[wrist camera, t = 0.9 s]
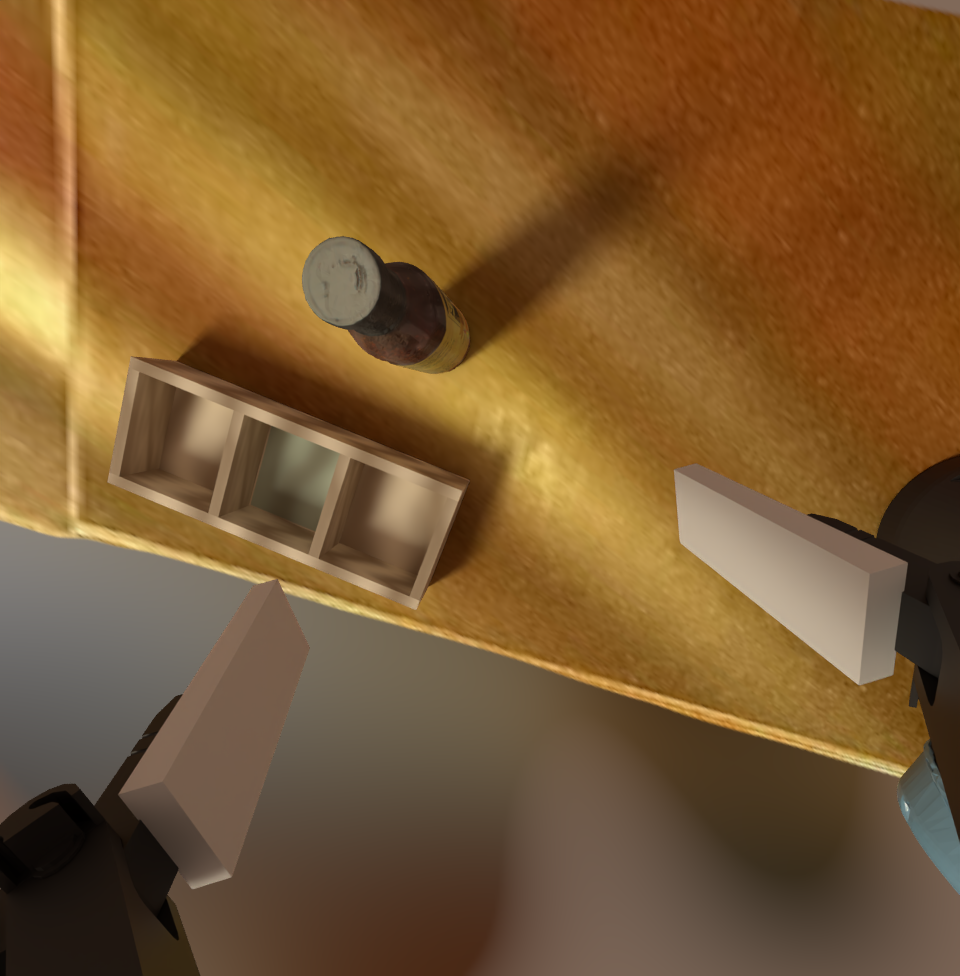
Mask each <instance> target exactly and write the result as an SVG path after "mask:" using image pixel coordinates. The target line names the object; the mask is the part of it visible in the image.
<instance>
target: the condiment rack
mask: <svg viewBox="0 0 960 976" xmlns="http://www.w3.org/2000/svg"><path fill="white" fill-rule="evenodd" d="M469 482H470V480H468V479H466V478H463V477H461V476H459V475H456V474H454V473H451V472H449V471H446V470H444V469H441V468H439V467H436V466H434V465H431V464H429V463H426V462H424V461H422V460H419V459H417V458H414V457H412V456H409V455H407V454H404V453H402V452H399V451H397V450H394V449H392V448H389V447H387V446H384V445H382V444H380V443H377V442H375V441H372V440H370V439H367V438H365V437H362V436H360V435H357V434H355V433H352V432H350V431H347V430H345V429H343V428H340V427H338V426H335V425H333V424H330V423H328V422H325V421H323V420H320V419H318V418H315V417H313V416H310V415H308V414H306V413H303V412H301V411H298V410H296V409H293V408H291V407H288V406H286V405H283V404H281V403H278V402H276V401H273V400H271V399H269V398H266V397H264V396H261V395H259V394H256V393H254V392H251V391H249V390H246V389H244V388H241V387H239V386H236V385H234V384H232V383H229V382H227V381H224V380H222V379H219V378H217V377H214V376H212V375H209V374H207V373H204V372H202V371H199V370H197V369H195V368H192V367H190V366H187V365H185V364H182V363H180V362H177V361H171V360H162V359H152V358H142V357H132V356H131V359H130V364H129V369H128V375H127V380H126V386H125V391H124V396H123V402H122V407H121V412H120V418H119V423H118V429H117V434H116V439H115V445H114V450H113V456H112V461H111V466H110V472H109V477H108V483H111V484H113V485H115V486H118V487H120V488H123V489H125V490H128V491H130V492H132V493H135V494H137V495H140V496H142V497H144V498H147V499H149V500H152V501H154V502H156V503H159V504H161V505H164V506H166V507H169V508H171V509H173V510H176V511H178V512H181V513H183V514H185V515H188V516H190V517H193V518H195V519H197V520H200V521H202V522H205V523H207V524H210V525H212V526H214V527H217V528H219V529H222V530H224V531H226V532H229V533H231V534H234V535H236V536H239V537H241V538H243V539H246V540H248V541H251V542H253V543H255V544H258V545H260V546H263V547H265V548H267V549H270V550H272V551H275V552H277V553H280V554H282V555H284V556H287V557H289V558H292V559H294V560H296V561H299V562H301V563H304V564H306V565H309V566H311V567H313V568H316V569H318V570H321V571H323V572H325V573H328V574H330V575H333V576H335V577H337V578H340V579H342V580H345V581H347V582H350V583H352V584H354V585H357V586H359V587H362V588H364V589H366V590H369V591H371V592H374V593H376V594H379V595H381V596H383V597H386V598H388V599H391V600H393V601H395V602H398V603H400V604H403V605H405V606H407V607H410V608H412V609H415V610H416V609H417V607H418V605H419V603H420V602H421V600H422V598H423V596H424V594H425V592H426V590H427V588H428V586H429V584H430V581H431V579H432V576H433V573H434V571H435V568H436V566H437V563H438V561H439V558H440V556H441V553H442V550H443V548H444V545H445V543H446V540H447V538H448V535H449V533H450V530H451V527H452V525H453V522H454V520H455V517H456V515H457V512H458V510H459V507H460V505H461V502H462V499H463V497H464V494H465V492H466V489H467V487H468V484H469Z"/></svg>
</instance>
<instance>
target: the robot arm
mask: <svg viewBox="0 0 960 976" xmlns="http://www.w3.org/2000/svg"><path fill="white" fill-rule="evenodd" d="M674 475H675V487H676V499H677V512H678V524H679V536H680V543H681V544H682V545H684V546H685V547H686V548H687V549H689V550H690V551H691V552H692V553H694V554H695V555H696V556H697V557H699V558H700V559H701V560H702V561H704V562H705V563H706V564H707V565H709V566H710V567H711V568H712V569H714V570H715V571H716V572H717V573H719V574H720V575H721V576H722V577H724V578H725V579H726V580H728V581H729V582H730V583H731V584H733V585H734V586H735V587H736V588H738V589H739V590H740V591H741V592H743V593H744V594H745V595H746V596H748V597H749V598H750V599H751V600H753V601H754V602H755V603H756V604H758V605H759V606H760V607H761V608H763V609H764V610H765V611H766V612H768V613H769V614H770V615H771V616H773V617H774V618H775V619H776V620H778V621H779V622H780V623H781V624H783V625H784V626H785V627H786V628H788V629H789V630H790V631H791V632H793V633H794V634H795V635H796V636H798V637H799V638H800V639H801V640H803V641H804V642H805V643H806V644H808V645H809V646H810V647H811V648H813V649H814V650H815V651H816V652H818V653H819V654H820V655H821V656H823V657H824V658H825V659H826V660H828V661H829V662H830V663H831V664H833V665H834V666H835V667H836V668H838V669H839V670H840V671H841V672H843V673H844V674H845V675H847V676H848V677H849V678H850V679H852V680H853V681H854V682H855V683H857V684H858V685H862V684H865V683H868V682H872V681H875V680H878V679H882V678H885V677H888V676H891V675H893V671H894V664H895V656H896V651H897V652H898V653H900V654H901V655H903V656H904V657H906V658H907V659H909V660H910V661H912V662H913V663H915V667H914V673H913V680H912V686H911V693H910V700H909V706H910V707H915V708H916V707H917V701H918V699H919V701H920V704H921V708H922V711H923V715H924V718H925V722H926V725H927V729H928V732H929V736H930V739H929V740H928V741H926V743H925V744H924V751H923V752H922V754H921V755H920V756H919V757H918V758H917V759H916V761H915V762H914V763H913V764H912V765H911V766H910V768H909V769H908V770H907V771H906V772H905V773H904V774H903V776H902V777H901V778H900V780H899V783H898V786H897V795H898V802H899V805H900V808H901V811H902V813H903V815H904V817H905V819H906V821H907V823H908V825H909V826H910V828H911V830H912V832H913V834H914V836H915V837H916V839H917V840H918V842H919V843H920V845H921V846H922V847H923V849H924V850H925V852H926V853H927V855H928V856H929V857H930V859H931V860H932V861H933V863H934V864H935V865H936V867H937V868H938V869H939V870H940V872H941V873H942V874H943V875H944V877H945V878H946V879H947V880H948V882H949V883H950V884H951V885H952V887H953V888H954V889H955V890H956V891H957V893H958V894H959V895H960V456H959V457H956V458H952V459H950V460H947V461H944V462H942V463H939V464H937V465H935V466H933V467H931V468H930V469H928V470H926V471H925V472H923V473H922V474H920V475H919V476H917V477H916V478H915V479H913V480H912V481H911V482H910V483H908V484H907V485H906V486H905V487H904V488H903V489H902V490H901V491H900V492H899V493H898V495H897V496H896V497H895V498H894V500H893V501H892V502H891V504H890V505H889V507H888V509H887V510H886V512H885V514H884V516H883V518H882V521H881V523H880V526H879V529H878V533H877V538H874V536H873V535H871V534H869V533H867V532H864V531H862V530H859V531H858V530H857V528H855V527H853V526H851V525H849V524H846V523H844V522H842V521H840V520H837V519H834V518H829V517H825V516H821V515H816V514H812V513H811V514H808V515H805V514H803V513H801V512H799V511H797V510H795V509H792V508H790V507H788V506H786V505H784V504H782V503H780V502H777V501H775V500H773V499H771V498H769V497H767V496H765V495H763V494H760V493H758V492H756V491H754V490H752V489H750V488H748V487H745V486H743V485H741V484H739V483H737V482H735V481H733V480H730V479H728V478H726V477H724V476H722V475H720V474H718V473H716V472H713V471H711V470H709V469H707V468H705V467H703V466H701V465H698V464H692V465H689V466H685V467H681V468H678V469H674ZM309 649H310V647H309V645H308V643H307V641H306V639H305V636H304V634H303V632H302V630H301V628H300V626H299V624H298V622H297V619H296V617H295V615H294V613H293V611H292V609H291V607H290V605H289V603H288V601H287V598H286V596H285V594H284V592H283V590H282V588H281V586H280V583H279V581H278V579H276V580H272V581H269V582H265V583H261V584H258V585H254V586H253V587H252V588H251V590H250V592H249V593H248V595H247V596H246V598H245V599H244V601H243V602H242V604H241V605H240V607H239V608H238V610H237V612H236V613H235V615H234V616H233V618H232V619H231V621H230V622H229V624H228V625H227V627H226V629H225V630H224V632H223V633H222V635H221V636H220V638H219V639H218V641H217V642H216V644H215V646H214V647H213V649H212V650H211V652H210V653H209V655H208V656H207V658H206V660H205V661H204V663H203V664H202V666H201V667H200V669H199V670H198V672H197V673H196V675H195V676H194V678H193V680H192V681H191V683H190V684H189V686H188V688H187V689H186V690H185V692H184V694H182V695H178V696H176V697H174V699H172V700H171V701H170V703H168V704H167V705H166V706H165V707H164V708H163V709H162V710H161V711H160V712H159V713H158V714H157V715H156V716H155V718H154V719H153V720H152V722H151V724H150V725H149V726H148V728H147V729H146V731H145V732H144V734H143V735H142V739H140V740H139V741H138V743H137V744H136V745H135V747H134V748H133V750H132V752H131V756H129V757H127V759H126V760H125V762H124V763H123V764H122V766H121V767H120V769H119V770H118V772H117V774H116V775H115V776H114V778H113V779H112V781H111V782H110V784H109V785H108V786H107V788H106V789H105V791H104V792H103V794H102V795H101V797H100V798H99V800H98V801H97V803H96V804H95V806H94V805H93V804H92V803H91V802H90V801H89V799H88V798H87V797H86V796H85V794H84V793H83V792H82V791H81V790H80V789H79V787H78V786H77V785H76V784H63V785H60V786H57V787H54V788H52V789H49V790H47V791H46V792H44V793H42V794H40V795H38V796H37V797H35V798H33V799H31V800H30V801H28V802H27V803H26V804H25V805H23V806H22V807H20V808H19V809H18V810H16V811H15V812H14V813H12V814H11V815H10V816H9V817H8V818H7V819H5V821H4V822H2V823H1V825H0V888H1V889H0V976H200V973H199V970H198V967H197V965H196V962H195V959H194V956H193V953H192V950H191V947H190V944H189V942H188V939H187V936H186V933H185V930H184V927H183V924H182V921H181V919H180V915H179V913H178V910H177V907H176V905H175V903H174V902H173V901H172V900H171V898H170V897H169V896H168V895H167V894H168V892H169V890H170V887H171V885H172V883H173V880H174V878H175V876H176V874H177V872H178V871H179V873H180V874H181V875H182V876H183V878H184V879H185V880H186V882H187V883H188V884H189V885H190V887H191V888H192V889H194V888H197V887H201V886H204V885H208V884H211V883H214V882H217V881H221V880H224V879H227V878H230V877H232V875H233V872H234V869H235V866H236V863H237V860H238V857H239V854H240V851H241V848H242V846H243V843H244V840H245V837H246V834H247V830H248V828H249V825H250V822H251V819H252V816H253V813H254V810H255V807H256V804H257V801H258V799H259V796H260V793H261V790H262V787H263V784H264V781H265V778H266V775H267V772H268V769H269V766H270V763H271V760H272V757H273V754H274V752H275V749H276V745H277V743H278V739H279V737H280V734H281V731H282V728H283V725H284V722H285V719H286V716H287V713H288V710H289V707H290V704H291V702H292V699H293V696H294V693H295V689H296V687H297V684H298V681H299V678H300V675H301V672H302V669H303V666H304V663H305V660H306V657H307V655H308V651H309Z"/></svg>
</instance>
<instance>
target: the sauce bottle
mask: <svg viewBox="0 0 960 976" xmlns="http://www.w3.org/2000/svg"><path fill="white" fill-rule="evenodd" d="M302 284H303V291H304V294H305V298H306V301H307V302H308V304H309V306H310V308H311V309H312V310H313V312H314V313H315V314H316V315H317V316H318V317H319V318H321V319H322V320H323V321H325V322H327V323H329V324H331V325H334V326H336V327H339V328H343V329H347V330H348V331H349V332H350V334H351V335H352V336H353V338H354V340H355V341H356V342H357V344H358V345H359V346H360V347H361V348H362V349H363V350H365V351H366V352H367V353H368V354H370V355H372V356H374V357H375V358H377V359H380V360H382V361H387V362H389V363H390V364H394V365H397V366H401V367H405V368H409V369H413V370H417V371H420V372H425V373H430V374H439V373H444V372H447V371H451V370H453V369H455V368H456V367H457V366H458V365H459V364H460V363H461V362H462V361H463V359H464V358H465V357H466V355H467V353H468V350H469V347H470V334H469V327H468V323H467V321H466V319H465V317H464V315H463V314H462V312H461V311H460V310H459V309H458V308H457V307H456V306H455V305H454V303H453V302H452V301H451V300H450V299H449V298H448V297H447V296H446V294H445V293H444V292H443V291H442V290H441V289H440V288H439V287H438V286H437V285H436V284H435V282H434V281H432V280H431V279H430V278H429V277H428V276H427V275H426V274H425V273H424V272H423V271H422V270H420V269H419V268H418V267H416V266H414V265H411V264H408V263H404V262H393V263H386V264H384V262H383V260H382V259H381V258H380V256H378V255H377V254H376V253H375V252H374V251H373V250H372V249H370V248H369V247H367V246H366V245H365V244H363V243H362V242H360V241H359V240H356V239H354V238H350V237H344V236H342V237H335V238H329V239H327V240H325V241H323V242H322V243H320V244H319V245H318V246H316V247H315V248H314V249H313V250H312V251H311V253H310V254H309V257H308V258H307V260H306V262H305V265H304V269H303V274H302Z"/></svg>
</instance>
